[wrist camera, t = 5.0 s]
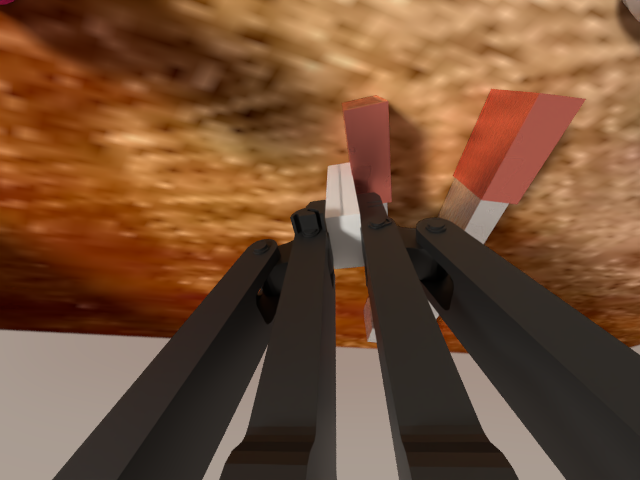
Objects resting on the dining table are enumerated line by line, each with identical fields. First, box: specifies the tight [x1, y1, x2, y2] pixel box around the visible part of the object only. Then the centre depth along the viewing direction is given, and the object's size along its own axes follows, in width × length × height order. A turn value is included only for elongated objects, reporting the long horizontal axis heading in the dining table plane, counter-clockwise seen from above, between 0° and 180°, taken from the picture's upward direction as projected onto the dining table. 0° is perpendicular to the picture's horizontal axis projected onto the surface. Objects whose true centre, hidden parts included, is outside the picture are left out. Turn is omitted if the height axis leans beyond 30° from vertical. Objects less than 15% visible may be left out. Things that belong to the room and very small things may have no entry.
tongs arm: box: [342, 95, 392, 215], centre depth 17 cm, size 16×2×4 cm, turn 11°
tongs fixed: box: [364, 89, 586, 342], centre depth 17 cm, size 20×5×4 cm, turn 174°
